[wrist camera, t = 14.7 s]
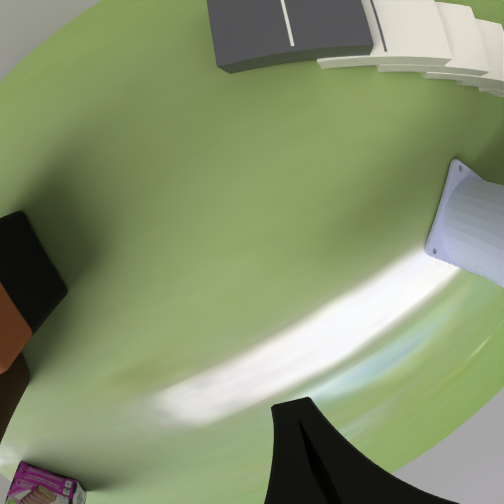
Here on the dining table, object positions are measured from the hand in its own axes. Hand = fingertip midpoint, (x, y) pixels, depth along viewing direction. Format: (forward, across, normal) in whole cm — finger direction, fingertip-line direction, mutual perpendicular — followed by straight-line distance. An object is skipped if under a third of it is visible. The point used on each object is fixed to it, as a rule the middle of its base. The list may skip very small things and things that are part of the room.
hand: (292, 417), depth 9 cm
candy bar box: (+11, +35, +27) cm, 45 cm away
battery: (+11, +15, -5) cm, 19 cm away
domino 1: (+10, 0, -16) cm, 19 cm away
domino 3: (+10, -10, -16) cm, 21 cm away
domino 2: (+10, -6, -16) cm, 20 cm away
